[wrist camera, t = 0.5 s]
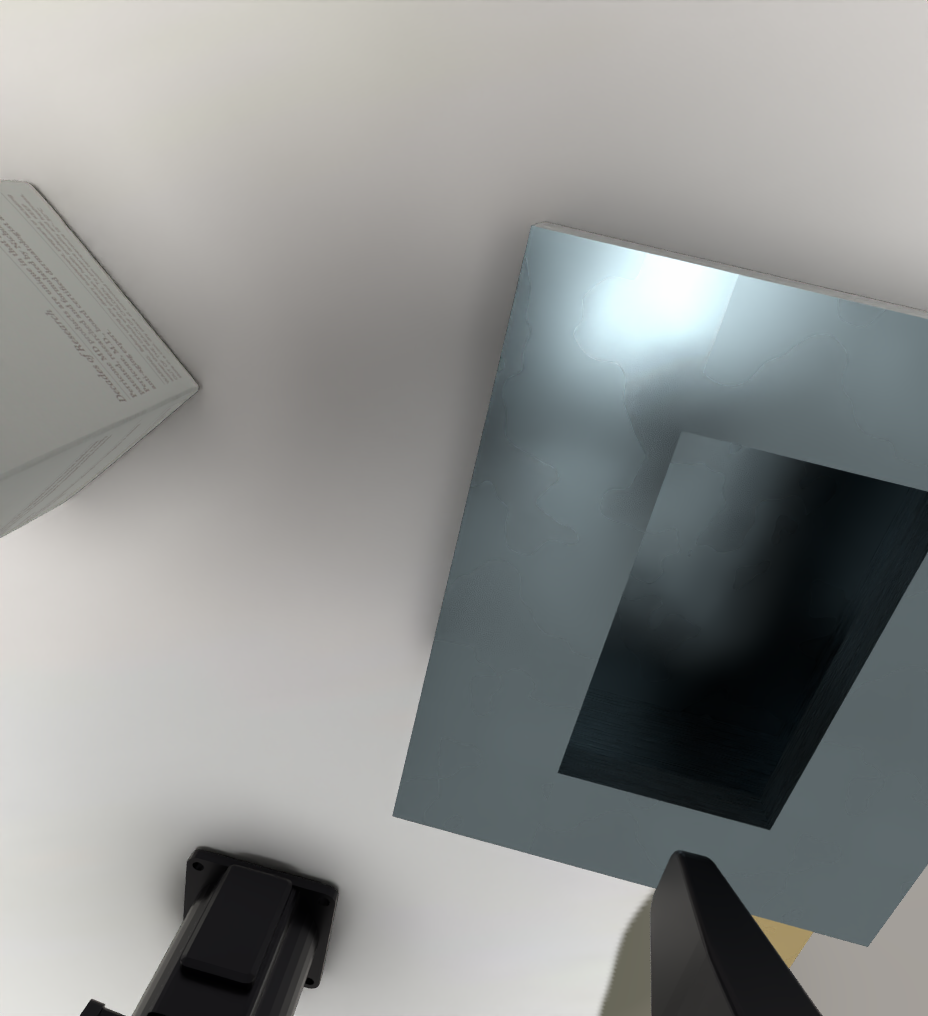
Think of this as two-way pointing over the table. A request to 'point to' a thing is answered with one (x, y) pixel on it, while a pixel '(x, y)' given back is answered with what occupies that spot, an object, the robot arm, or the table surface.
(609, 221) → the table surface
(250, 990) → the robot arm
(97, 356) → the supplement box
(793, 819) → the box
